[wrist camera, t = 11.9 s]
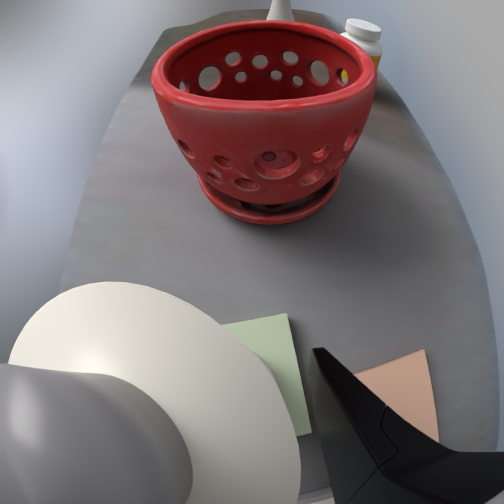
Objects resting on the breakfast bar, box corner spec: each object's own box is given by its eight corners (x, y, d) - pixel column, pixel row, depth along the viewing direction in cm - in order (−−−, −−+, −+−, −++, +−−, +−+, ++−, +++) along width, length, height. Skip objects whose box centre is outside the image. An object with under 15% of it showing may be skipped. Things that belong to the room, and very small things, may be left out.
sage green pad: (309, 429, 15) (311, 432, 14) (187, 447, 15) (184, 451, 14) (285, 316, 18) (286, 312, 17) (168, 335, 18) (163, 333, 17)
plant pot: (292, 113, 27) (301, 11, 16) (368, 207, 22) (426, 91, 11) (171, 151, 25) (137, 42, 14) (219, 270, 20) (176, 146, 9)
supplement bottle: (329, 93, 29) (341, 24, 20) (329, 74, 31) (338, 13, 22) (372, 103, 28) (391, 38, 19) (367, 82, 30) (382, 24, 21)
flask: (252, 46, 35) (250, -8, 26) (263, 32, 38) (263, -15, 28) (298, 51, 34) (302, -4, 25) (304, 37, 37) (308, -11, 27)
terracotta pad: (432, 443, 14) (439, 445, 13) (334, 485, 13) (338, 490, 12) (417, 350, 17) (424, 348, 16) (315, 384, 16) (318, 385, 15)
